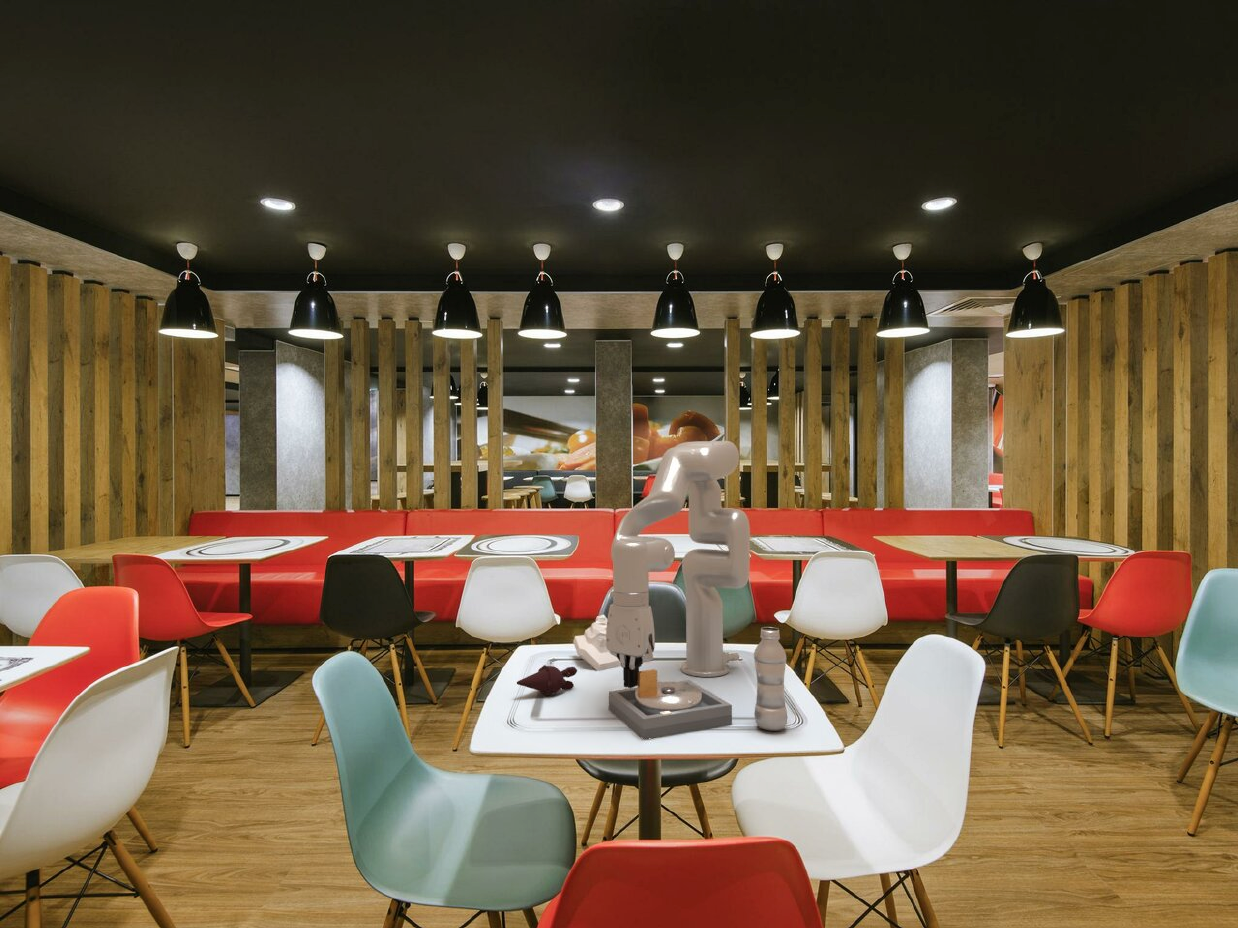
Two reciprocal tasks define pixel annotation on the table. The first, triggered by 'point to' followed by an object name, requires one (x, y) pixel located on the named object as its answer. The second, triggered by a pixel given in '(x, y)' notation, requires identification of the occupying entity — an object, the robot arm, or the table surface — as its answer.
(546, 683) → the icecream
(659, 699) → the dial
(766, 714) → the plastic bottle
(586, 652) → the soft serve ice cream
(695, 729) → the tray
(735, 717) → the table surface
